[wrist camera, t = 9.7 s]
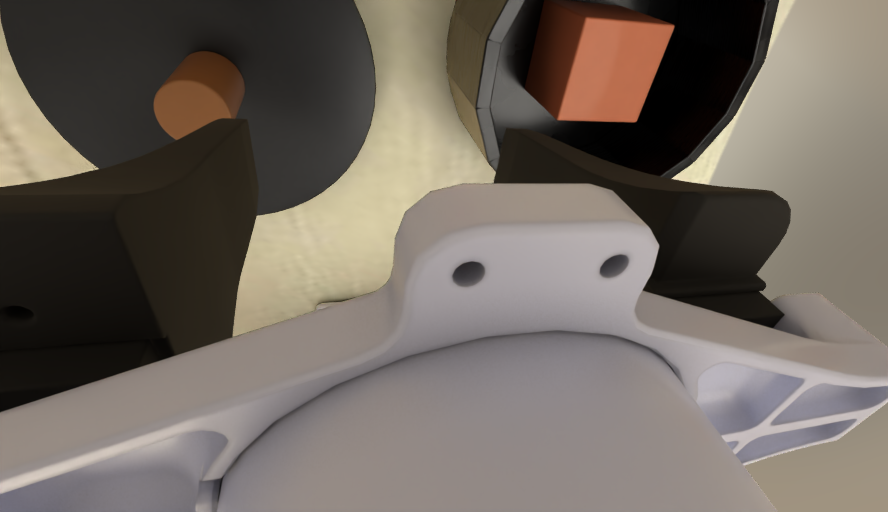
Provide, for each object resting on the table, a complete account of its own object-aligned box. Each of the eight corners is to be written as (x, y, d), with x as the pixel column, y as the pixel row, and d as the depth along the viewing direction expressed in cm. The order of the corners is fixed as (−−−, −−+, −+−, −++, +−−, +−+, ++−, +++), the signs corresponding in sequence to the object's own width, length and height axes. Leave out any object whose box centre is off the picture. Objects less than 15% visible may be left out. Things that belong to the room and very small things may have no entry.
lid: (372, 201, 24) (381, 255, 20) (98, 207, 21) (52, 272, 17) (375, -104, 16) (392, -104, 12) (-74, -171, 13) (-228, -197, 9)
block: (594, 93, 22) (636, 123, 19) (523, 89, 21) (556, 121, 18) (622, 5, 20) (676, 24, 17) (543, -3, 19) (586, 16, 16)
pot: (628, 161, 26) (684, 209, 22) (433, 161, 23) (458, 216, 19) (734, -95, 19) (849, -92, 15) (466, -143, 16) (517, -157, 12)
